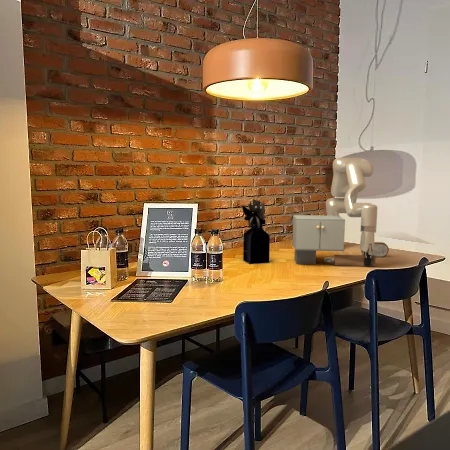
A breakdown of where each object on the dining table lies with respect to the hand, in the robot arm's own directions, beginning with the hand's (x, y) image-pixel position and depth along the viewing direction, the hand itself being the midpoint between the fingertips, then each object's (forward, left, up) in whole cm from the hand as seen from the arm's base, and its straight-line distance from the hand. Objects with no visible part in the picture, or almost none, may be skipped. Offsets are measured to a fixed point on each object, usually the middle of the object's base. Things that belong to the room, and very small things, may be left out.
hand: (366, 264), depth 219 cm
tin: (-26, +11, -1) cm, 28 cm away
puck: (-7, -17, -1) cm, 19 cm away
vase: (-4, -56, -1) cm, 56 cm away
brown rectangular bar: (0, -6, 0) cm, 6 cm away
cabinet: (-6, -24, -1) cm, 25 cm away
